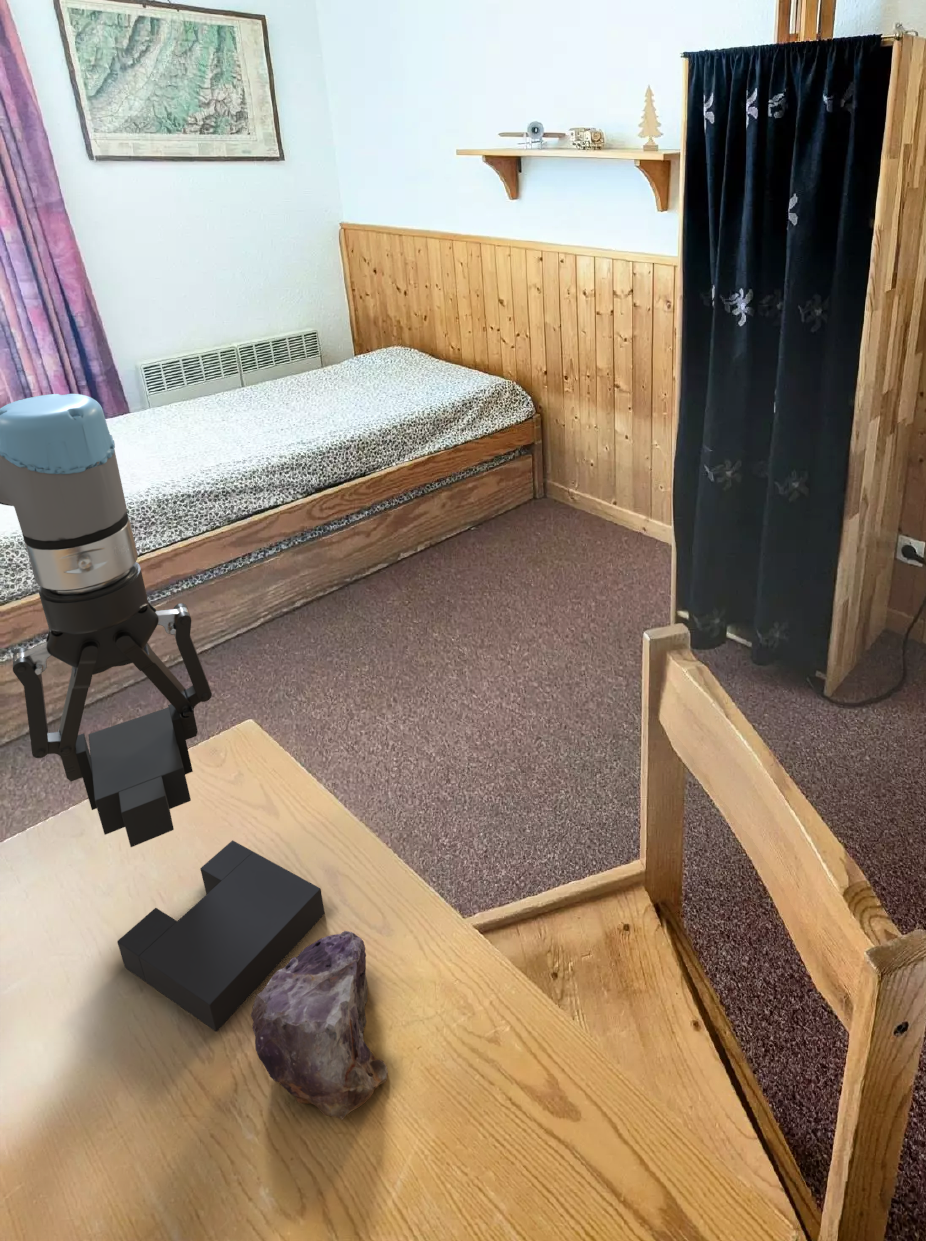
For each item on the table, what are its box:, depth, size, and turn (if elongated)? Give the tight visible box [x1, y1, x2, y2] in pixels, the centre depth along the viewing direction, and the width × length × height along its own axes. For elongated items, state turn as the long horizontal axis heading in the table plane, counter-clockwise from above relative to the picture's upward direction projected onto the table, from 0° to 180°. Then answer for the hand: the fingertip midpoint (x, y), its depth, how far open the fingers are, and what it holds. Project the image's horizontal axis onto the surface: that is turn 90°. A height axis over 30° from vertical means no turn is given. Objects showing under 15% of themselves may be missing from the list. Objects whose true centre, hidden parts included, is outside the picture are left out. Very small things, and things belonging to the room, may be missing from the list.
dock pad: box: [116, 839, 326, 1033], centre depth 73 cm, size 12×12×4 cm
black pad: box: [88, 706, 192, 848], centre depth 75 cm, size 13×7×4 cm, turn 34°
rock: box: [250, 930, 389, 1120], centre depth 63 cm, size 12×9×10 cm
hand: (142, 781), depth 76 cm, fingers closed on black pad, 7 cm apart
